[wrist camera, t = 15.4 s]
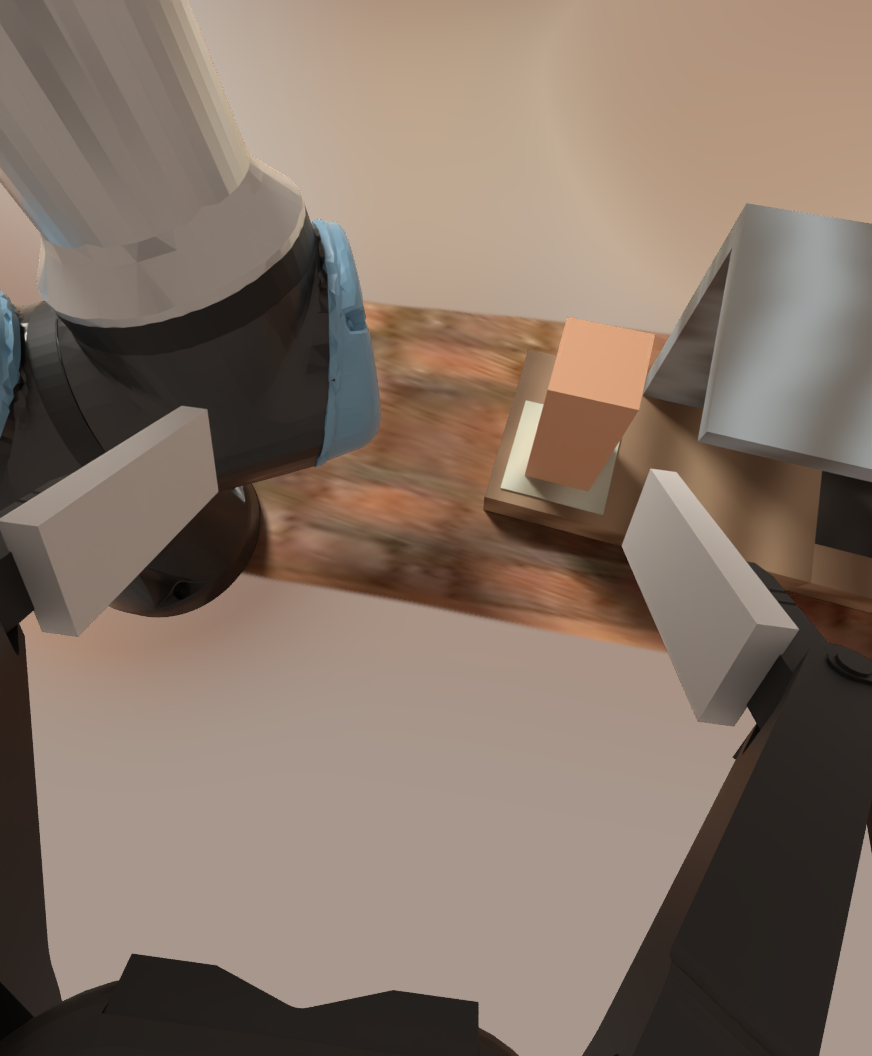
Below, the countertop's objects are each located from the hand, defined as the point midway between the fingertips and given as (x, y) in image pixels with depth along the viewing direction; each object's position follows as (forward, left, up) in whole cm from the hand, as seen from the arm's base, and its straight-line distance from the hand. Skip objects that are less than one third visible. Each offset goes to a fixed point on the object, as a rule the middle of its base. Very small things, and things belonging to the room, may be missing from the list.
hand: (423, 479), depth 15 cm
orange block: (+5, +13, -23) cm, 27 cm away
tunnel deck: (+16, +15, -26) cm, 34 cm away
